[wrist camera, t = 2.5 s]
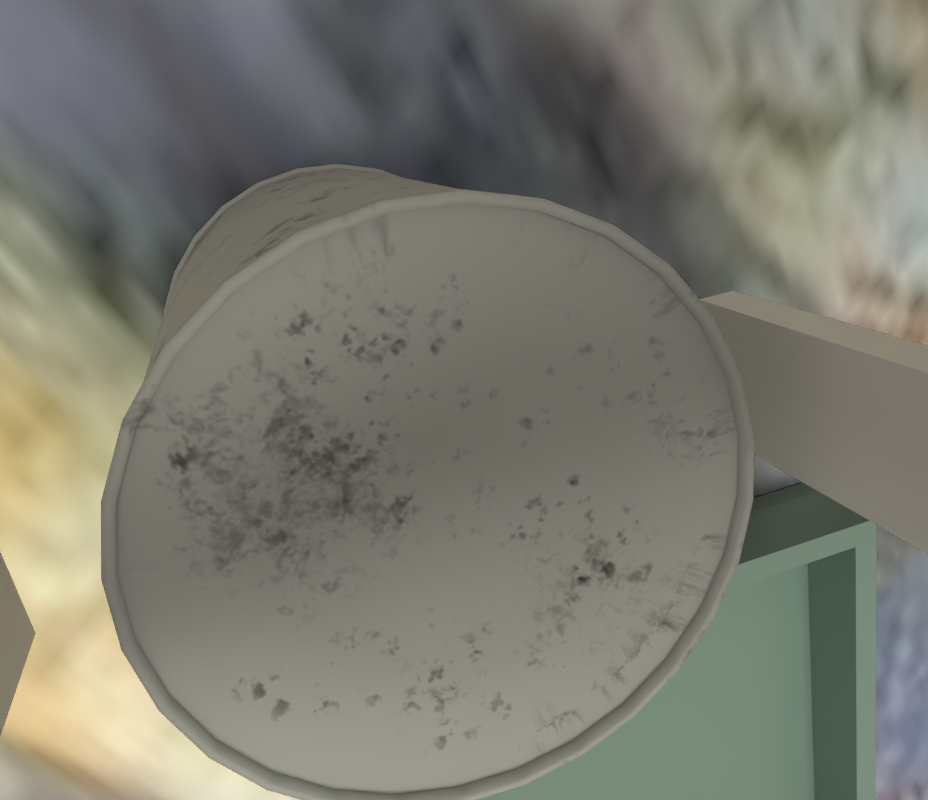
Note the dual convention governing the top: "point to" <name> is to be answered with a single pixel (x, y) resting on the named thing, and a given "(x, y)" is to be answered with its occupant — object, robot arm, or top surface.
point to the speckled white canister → (420, 487)
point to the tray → (759, 678)
